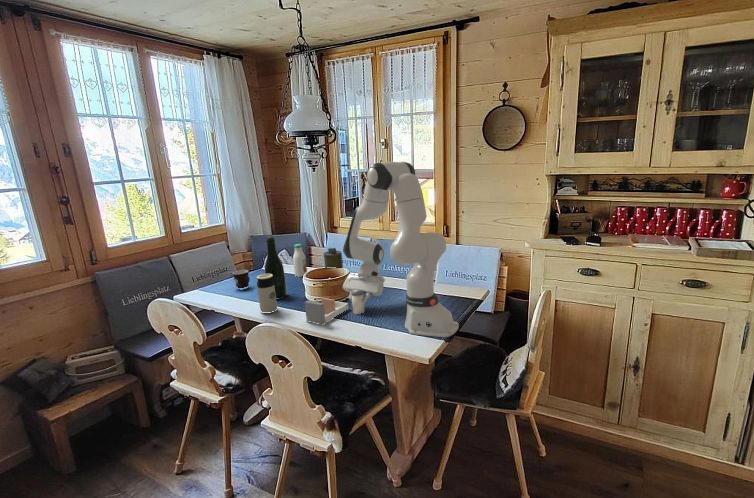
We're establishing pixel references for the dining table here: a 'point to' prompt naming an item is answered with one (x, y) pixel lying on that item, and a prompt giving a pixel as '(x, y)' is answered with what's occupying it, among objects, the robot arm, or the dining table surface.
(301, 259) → the milk bottle
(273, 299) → the travel mug
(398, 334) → the dining table surface
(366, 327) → the dining table surface
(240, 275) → the coffee mug
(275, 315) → the dining table surface
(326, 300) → the spring pusher
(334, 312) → the pusher lane
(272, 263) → the wine bottle
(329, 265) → the canister
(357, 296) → the jar
